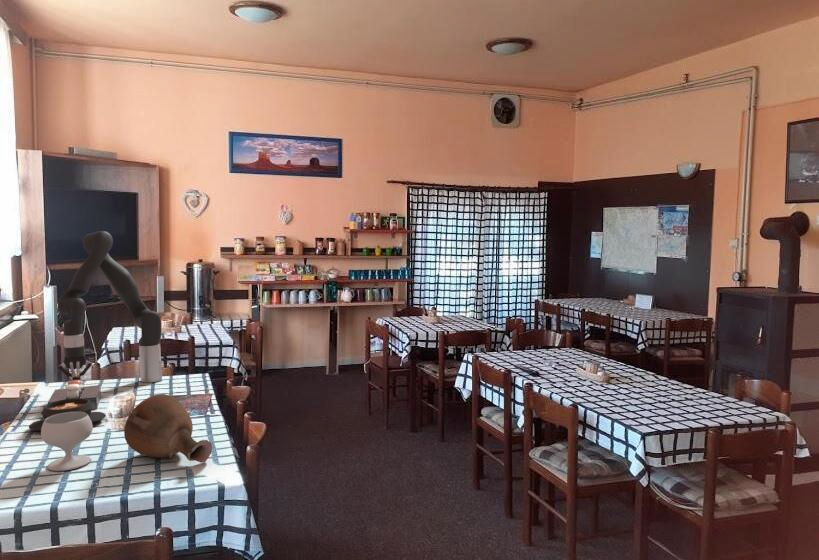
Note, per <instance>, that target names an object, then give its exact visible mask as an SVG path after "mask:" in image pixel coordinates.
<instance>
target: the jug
mask: <svg viewBox="0 0 819 560" xmlns="http://www.w3.org/2000/svg"><path fill="white" fill-rule="evenodd" d="M123 431H124V432H123V433H124V439H125V442H126V443H127V446H128V447H130V449H132V450H133V451H135V452H136V453H138V454H140V455H142V456H145V457H150V458H155V459H157V458H158V459H159V458H160V459H163V458H169V459H171V458H172V457H173V456H175V455H177V454H178V453H181V454H182V455H184V457H186V459H187V460H188V461H189V462H194V461H196V462H198V463H200V464H202V463H203V464H204V463H205V462H207V460H208V459H209V458H210V456H211V454H212V452H213V451H212V450H213V443H212V442H211V441H210V440H209V441H208V439H201V440H199V441H198V442H197V441H196V440H195V439H194V438H193V437H192V434H193V420H192V417H191V415H190V413H189V412H188V411H187V409H186V408H185V407H184V406H183V404H182V403H181V402H180V401H178V400H177V399H176V398H175V397H173V396H171V395H169V394H165V393H158V394H154V395H152V396H149V397H147V398H145V399H143V400H142V401H141V402H140V403H138V404H137V405H136V406H134V408H133V409H132V411H131V412H130V413H129V415H128V416H127V419H126V422H125V425H124V429H123Z"/></svg>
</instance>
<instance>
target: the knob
mask: <svg viewBox="0 0 819 560" xmlns="http://www.w3.org/2000/svg"><path fill="white" fill-rule="evenodd" d="M78 388H80V385H79V384H69V385H68V384H67V385H65V386H64V389H66V390H67V399H73V398H79V392H78Z"/></svg>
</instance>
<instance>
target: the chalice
mask: <svg viewBox="0 0 819 560" xmlns="http://www.w3.org/2000/svg"><path fill="white" fill-rule="evenodd" d="M93 427H94V425H93V422H91V419H90V417H89V416H88V414H87V413H85V412H65V413H60V414H56V415H52V416H50V417H48V418H46V419H45V421H44V423H43V425H42V429H41V430H40V437H41V440H42V441H43V442H44V443H45V444H47V445H48V446H51V447H56V448H58V449H61V450H62V451H64V453H65V457H60V458H58V459H55V460H53V461H51V462H50V463H48V465H47V466H46V468H47V470H49V471H54V472H64V471H70V470H76V469H78V468H81V467H84V466H86V465H88V464H90V463H91V462H92V458H91V457H90V456H88V455H83V454H82V455H81V454H80V455H78V454H77V455H73V451H74V449H75V447H76V446H77V445H79V444H80V443H83V442H84V441H86V439H88V438H89V437H90V436H91V435H92V432H93V430H94V429H93Z"/></svg>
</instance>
